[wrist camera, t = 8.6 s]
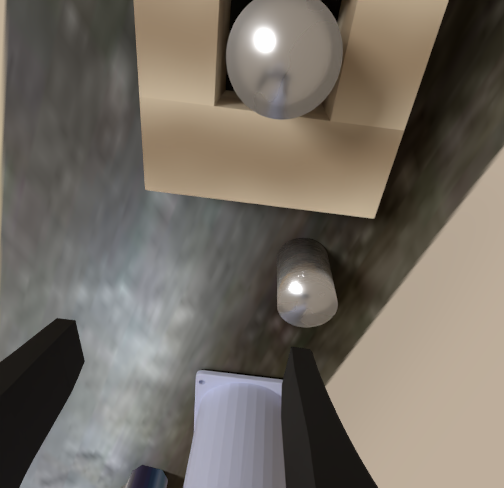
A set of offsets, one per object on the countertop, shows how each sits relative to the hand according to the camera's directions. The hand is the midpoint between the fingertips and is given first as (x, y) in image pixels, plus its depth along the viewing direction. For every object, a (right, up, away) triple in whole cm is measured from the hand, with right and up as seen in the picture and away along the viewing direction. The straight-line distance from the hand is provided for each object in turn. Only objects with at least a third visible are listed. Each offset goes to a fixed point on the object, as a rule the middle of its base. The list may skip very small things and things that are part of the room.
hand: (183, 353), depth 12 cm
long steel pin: (+4, +12, +3) cm, 13 cm away
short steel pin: (+5, +3, +9) cm, 11 cm away
